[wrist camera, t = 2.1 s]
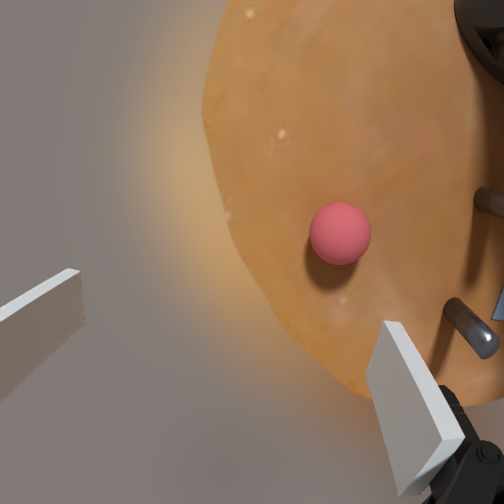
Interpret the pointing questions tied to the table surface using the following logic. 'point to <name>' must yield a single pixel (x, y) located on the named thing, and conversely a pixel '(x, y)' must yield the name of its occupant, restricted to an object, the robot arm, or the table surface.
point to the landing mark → (499, 307)
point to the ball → (340, 233)
